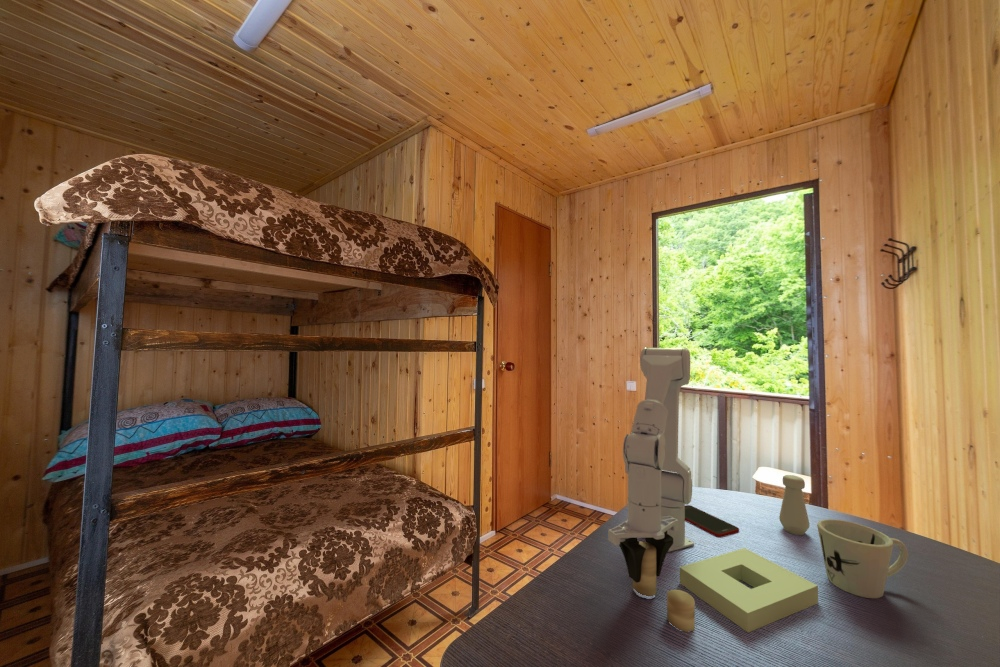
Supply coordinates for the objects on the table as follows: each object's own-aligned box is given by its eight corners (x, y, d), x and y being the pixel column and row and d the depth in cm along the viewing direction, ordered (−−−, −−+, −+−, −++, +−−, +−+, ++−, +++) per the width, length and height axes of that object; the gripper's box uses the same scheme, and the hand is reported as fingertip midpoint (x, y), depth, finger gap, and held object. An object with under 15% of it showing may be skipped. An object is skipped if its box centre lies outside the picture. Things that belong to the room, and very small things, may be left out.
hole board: (679, 583, 71) (679, 567, 71) (744, 562, 78) (744, 547, 78) (748, 632, 59) (747, 613, 59) (818, 603, 66) (817, 585, 66)
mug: (804, 568, 76) (803, 517, 76) (880, 570, 75) (879, 519, 76) (850, 604, 65) (849, 545, 66) (939, 606, 65) (938, 547, 65)
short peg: (661, 617, 62) (661, 593, 62) (679, 611, 63) (679, 587, 64) (681, 635, 58) (681, 609, 58) (700, 628, 60) (700, 602, 60)
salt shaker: (815, 538, 87) (814, 482, 88) (787, 535, 89) (786, 480, 89) (800, 526, 93) (800, 473, 93) (774, 524, 94) (774, 471, 95)
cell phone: (688, 508, 104) (688, 504, 104) (741, 532, 91) (741, 528, 91) (668, 512, 101) (668, 509, 101) (718, 539, 88) (718, 535, 88)
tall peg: (627, 587, 69) (627, 543, 69) (644, 582, 71) (644, 539, 71) (643, 601, 66) (643, 555, 66) (661, 596, 67) (661, 550, 67)
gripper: (627, 516, 62) (627, 600, 62) (692, 502, 68) (692, 579, 67) (600, 499, 69) (600, 575, 68) (661, 488, 74) (661, 558, 74)
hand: (644, 576), depth 68 cm, fingers closed on tall peg, 4 cm apart
